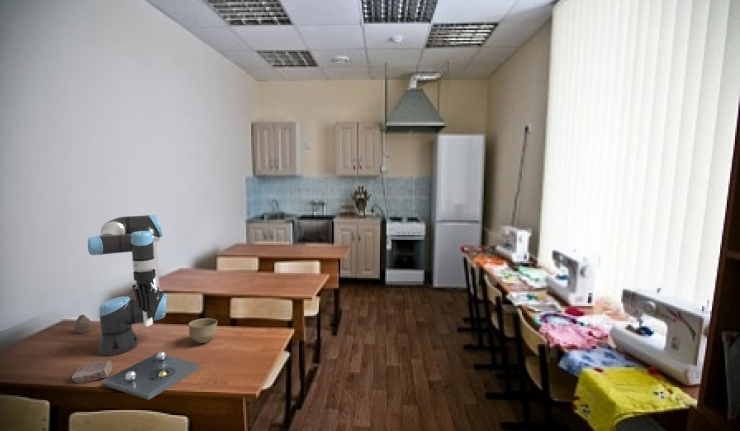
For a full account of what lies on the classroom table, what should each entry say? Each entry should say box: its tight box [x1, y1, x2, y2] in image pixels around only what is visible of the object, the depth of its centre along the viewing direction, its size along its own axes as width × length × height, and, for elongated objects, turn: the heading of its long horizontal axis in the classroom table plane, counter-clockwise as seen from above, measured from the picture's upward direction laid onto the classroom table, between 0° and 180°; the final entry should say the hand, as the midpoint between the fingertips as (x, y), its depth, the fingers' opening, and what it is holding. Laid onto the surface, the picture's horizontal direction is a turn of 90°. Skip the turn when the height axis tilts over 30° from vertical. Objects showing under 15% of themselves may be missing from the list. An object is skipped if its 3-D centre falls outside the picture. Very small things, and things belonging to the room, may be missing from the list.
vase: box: [73, 314, 92, 335], centre depth 182 cm, size 7×7×9 cm
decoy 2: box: [125, 371, 136, 381], centre depth 135 cm, size 4×4×4 cm
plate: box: [104, 352, 199, 401], centre depth 141 cm, size 24×22×2 cm
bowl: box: [188, 317, 218, 344], centre depth 172 cm, size 13×13×10 cm
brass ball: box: [158, 371, 168, 377], centre depth 139 cm, size 4×4×4 cm
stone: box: [71, 359, 113, 385], centre depth 141 cm, size 9×12×5 cm
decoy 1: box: [156, 351, 167, 360], centre depth 150 cm, size 4×4×4 cm
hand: (148, 325), depth 145 cm, fingers closed
